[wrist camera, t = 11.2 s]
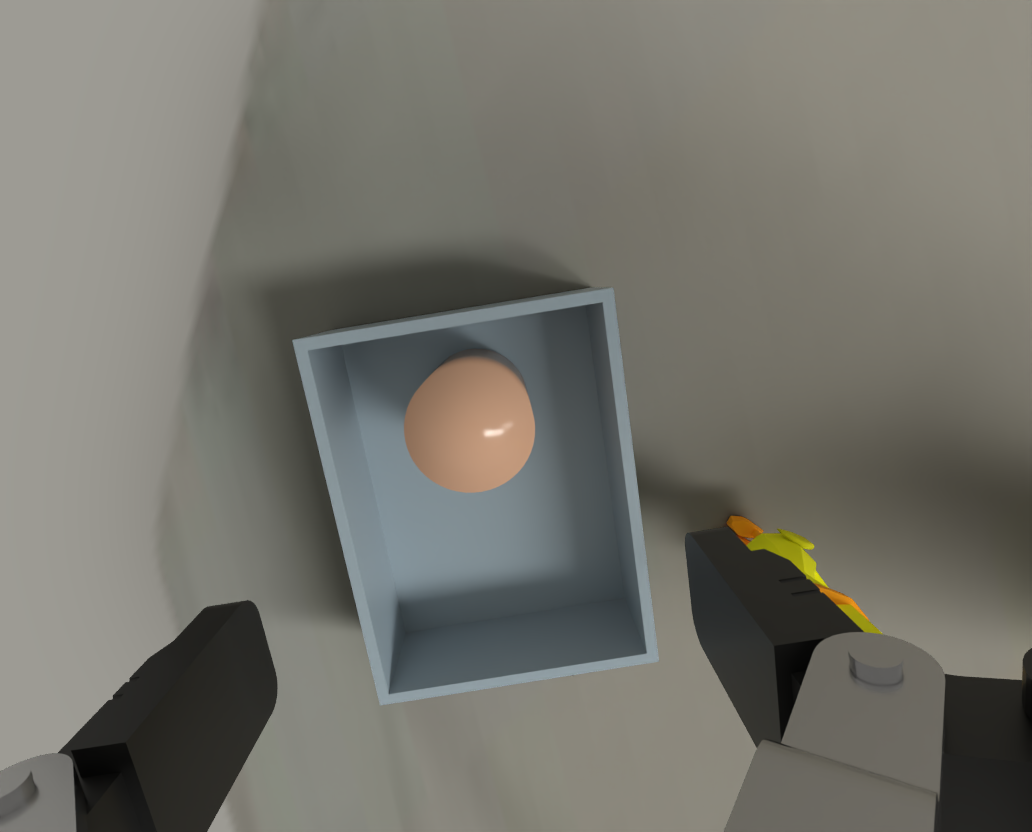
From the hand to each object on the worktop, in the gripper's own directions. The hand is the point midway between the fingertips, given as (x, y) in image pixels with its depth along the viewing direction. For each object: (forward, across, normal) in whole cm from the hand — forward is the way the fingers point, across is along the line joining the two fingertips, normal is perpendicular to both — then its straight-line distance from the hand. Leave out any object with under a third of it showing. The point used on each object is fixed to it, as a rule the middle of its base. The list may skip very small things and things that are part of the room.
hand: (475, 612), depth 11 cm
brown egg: (+19, +1, 0) cm, 19 cm away
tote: (+20, +1, +4) cm, 20 cm away
